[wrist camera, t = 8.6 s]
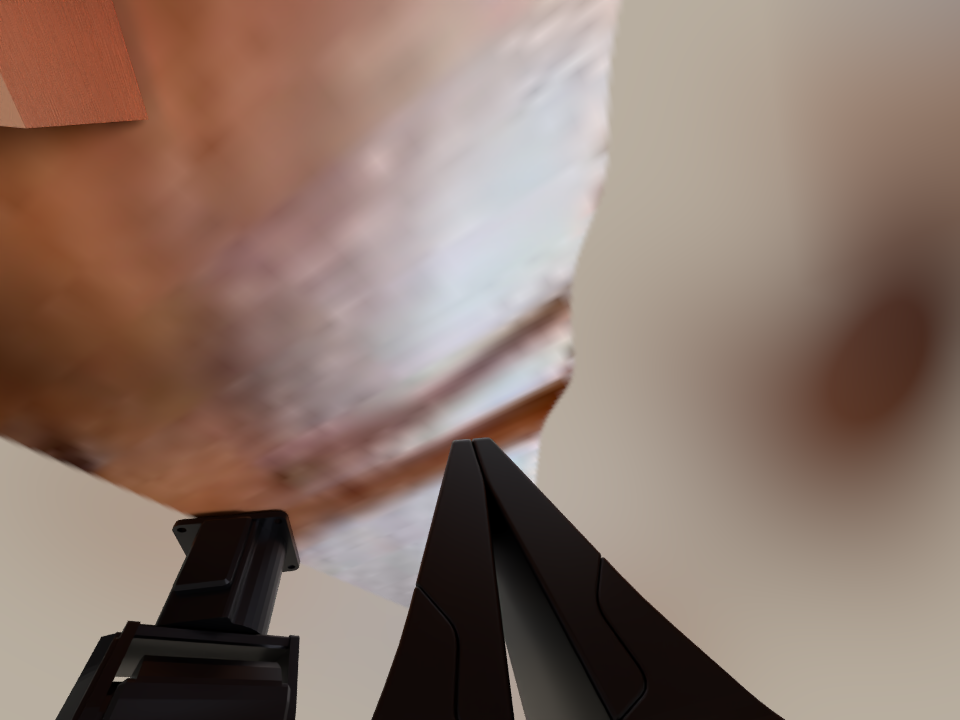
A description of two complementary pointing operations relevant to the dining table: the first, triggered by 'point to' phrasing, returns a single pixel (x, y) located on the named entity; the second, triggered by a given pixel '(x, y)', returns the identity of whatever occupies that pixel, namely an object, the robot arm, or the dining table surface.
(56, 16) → the shaft
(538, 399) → the dining table surface
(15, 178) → the dining table surface
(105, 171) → the dining table surface
